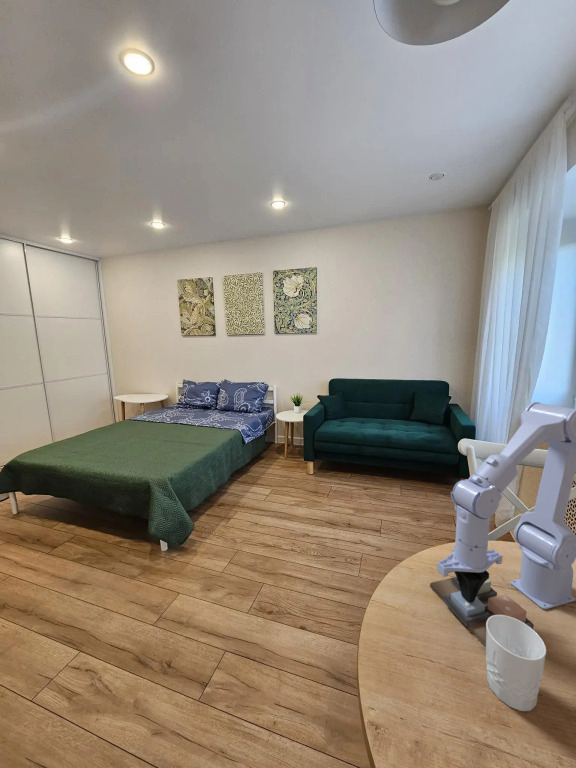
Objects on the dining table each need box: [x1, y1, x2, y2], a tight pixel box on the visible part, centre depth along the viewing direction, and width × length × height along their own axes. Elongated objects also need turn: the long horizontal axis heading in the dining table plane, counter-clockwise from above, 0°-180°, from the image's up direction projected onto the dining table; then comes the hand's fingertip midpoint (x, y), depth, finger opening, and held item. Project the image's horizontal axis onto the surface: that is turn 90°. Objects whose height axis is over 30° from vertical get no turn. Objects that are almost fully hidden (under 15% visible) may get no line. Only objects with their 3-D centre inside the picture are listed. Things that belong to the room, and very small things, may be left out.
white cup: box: [485, 615, 547, 712], centre depth 50 cm, size 8×8×10 cm
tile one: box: [477, 578, 492, 595], centre depth 70 cm, size 4×4×3 cm
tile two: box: [488, 593, 527, 623], centre depth 62 cm, size 4×4×3 cm
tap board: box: [429, 576, 535, 648], centre depth 66 cm, size 12×17×2 cm
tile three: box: [450, 591, 485, 617], centre depth 65 cm, size 4×4×3 cm
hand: (467, 598), depth 65 cm, fingers closed
